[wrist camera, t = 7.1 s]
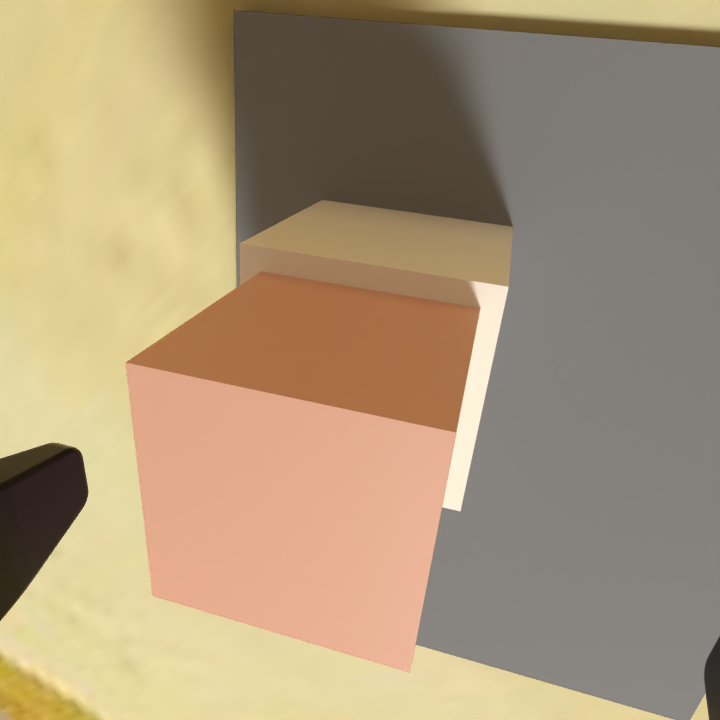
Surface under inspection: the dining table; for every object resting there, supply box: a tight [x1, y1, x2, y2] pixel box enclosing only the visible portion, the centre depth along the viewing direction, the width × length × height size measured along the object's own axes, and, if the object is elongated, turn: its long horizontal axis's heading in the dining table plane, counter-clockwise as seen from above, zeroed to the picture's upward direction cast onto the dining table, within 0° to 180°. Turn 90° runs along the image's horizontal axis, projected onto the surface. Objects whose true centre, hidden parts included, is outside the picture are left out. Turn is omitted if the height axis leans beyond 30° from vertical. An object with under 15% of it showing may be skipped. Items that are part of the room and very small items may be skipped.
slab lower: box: [289, 200, 513, 251], centre depth 17 cm, size 6×6×3 cm
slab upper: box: [240, 218, 511, 511], centre depth 15 cm, size 6×6×3 cm
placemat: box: [234, 10, 720, 720], centre depth 20 cm, size 20×24×1 cm
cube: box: [126, 271, 481, 673], centre depth 11 cm, size 5×5×5 cm
